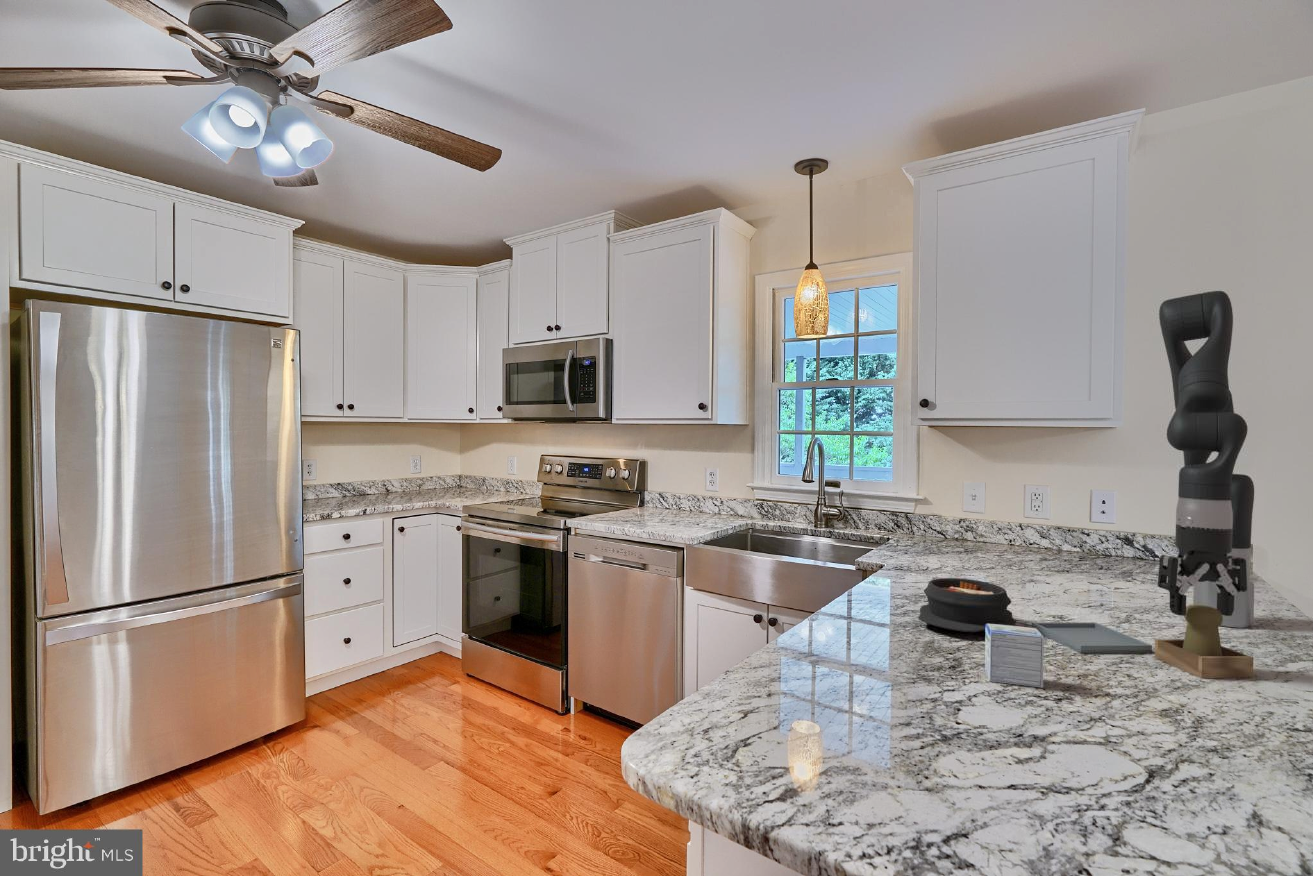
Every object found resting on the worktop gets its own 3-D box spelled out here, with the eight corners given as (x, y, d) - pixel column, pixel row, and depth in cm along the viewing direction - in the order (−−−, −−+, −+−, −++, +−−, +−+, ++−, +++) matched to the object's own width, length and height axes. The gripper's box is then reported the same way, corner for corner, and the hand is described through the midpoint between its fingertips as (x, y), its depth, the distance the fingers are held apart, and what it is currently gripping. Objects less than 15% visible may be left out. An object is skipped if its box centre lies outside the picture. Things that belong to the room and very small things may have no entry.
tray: (1095, 629, 129) (1095, 622, 129) (1151, 653, 115) (1152, 645, 115) (1031, 629, 128) (1031, 622, 128) (1080, 653, 114) (1080, 645, 114)
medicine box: (1036, 678, 102) (1037, 627, 102) (1043, 689, 98) (1044, 636, 98) (984, 672, 105) (984, 622, 105) (989, 682, 101) (989, 630, 100)
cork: (1234, 675, 105) (1235, 612, 104) (1193, 672, 106) (1194, 609, 106) (1209, 662, 110) (1210, 602, 110) (1171, 660, 112) (1172, 600, 112)
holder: (1202, 657, 113) (1202, 639, 113) (1252, 677, 104) (1253, 657, 104) (1154, 658, 112) (1155, 639, 112) (1201, 678, 103) (1201, 657, 103)
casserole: (947, 604, 147) (948, 570, 147) (1033, 623, 133) (1034, 585, 133) (896, 624, 131) (897, 586, 131) (988, 648, 117) (989, 605, 116)
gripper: (1221, 521, 112) (1219, 609, 112) (1147, 520, 111) (1144, 608, 111) (1263, 527, 105) (1261, 621, 105) (1184, 526, 104) (1181, 620, 104)
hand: (1201, 614), depth 108 cm, fingers open, 8 cm apart
